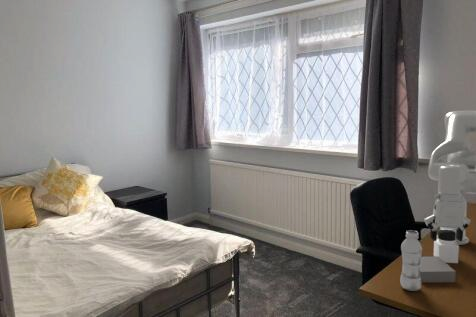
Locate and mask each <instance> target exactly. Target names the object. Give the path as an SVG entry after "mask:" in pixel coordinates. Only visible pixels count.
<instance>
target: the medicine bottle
mask: <svg viewBox="0 0 476 317" xmlns="http://www.w3.org/2000/svg"><path fill="white" fill-rule="evenodd" d="M437 235H438V239H437V240H436V241H434V240H433V257H435V256H438V257H439V258H441V259H442V260H443V261H444V262H445V263H446V264H458V263H459V255H460V254H459V253H460V245H457V243H456V242H455V237H456V233H455V232H454V231H452V230H450V229H439V230H438V231H437Z"/></svg>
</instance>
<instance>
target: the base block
mask: <svg viewBox="0 0 476 317" xmlns="http://www.w3.org/2000/svg"><path fill="white" fill-rule="evenodd" d="M456 274H457V273H456V270H455V269H453V267H452V266H450V265H449V263H445V262H444V261H443V260H442V259H441V258H439V257H438V256H435V257H434V256H421V259H420V277H421V283H456Z"/></svg>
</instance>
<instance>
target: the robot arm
mask: <svg viewBox="0 0 476 317" xmlns="http://www.w3.org/2000/svg"><path fill="white" fill-rule="evenodd" d="M444 127H445V128H444V129H445V138H444V142H442V143H440V145H438V146H436V148H435V149H433V151H432V153H431V155H430V158H429V162H428V168H427V174H428V178H429V179H431V180H433V181H438V184H437V193H436V194H434V195H433V196H434V198H436V199H435V202H434V205H433V211H432V215H430V216H427V217H425V218H423V221H424V223H425V225H426V227H427V228H429V230H430V232H429V233H430V239H431V240H432V241H433V242H434V241H436V240H437V239H438V231H437V229H438V228H439V230H441V229H450V230H452V231H454V232H455V233H456V237H455V242H456V243H457V245H458V246H460V245H461V246H462V245H463V246H464V245H467V244H468V243H469V242H470V239H469V238H468V237H467V236H466V229H467V228H468V227H469V225H470V224H471V221H472V220H471V219H470V218H468V217H467V207H468V203H467V200H466V199H465V197H464V196H463V194H470V195H471V194H472V195H476V149H471V145H472V143H471V142H472V141H471V139H470V138H469V135H470V134H471V133H473V134H474V133H475V134H476V110H454V111H453V110H452V111H449V112H448V113H446V114H445V116H444ZM446 156H447V158H446V159H447V161H445V162H444V161H443V162H442V161H439V160H440V159H441V158H444V157H446ZM431 221H432V224H431Z"/></svg>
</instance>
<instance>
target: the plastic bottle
mask: <svg viewBox="0 0 476 317" xmlns="http://www.w3.org/2000/svg"><path fill="white" fill-rule="evenodd" d="M405 237H406V238H405V239H404V240H403V241H402V243H401V245H400V251H401V257H402V258H401V259H402V267H401V274H400V278H399V281H400V285H401V287H402V288H403V289H404V290H406V291H408V292H409V291H410V292H418V291H419V290H420V289H421V287H422V283H423V282H421V277H420V259H421V257H422V253H423V247H422V244H421V243H420V241H419V240H418V239H419V232H418V231H417V230H411V229H410V230H406V232H405Z"/></svg>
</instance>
